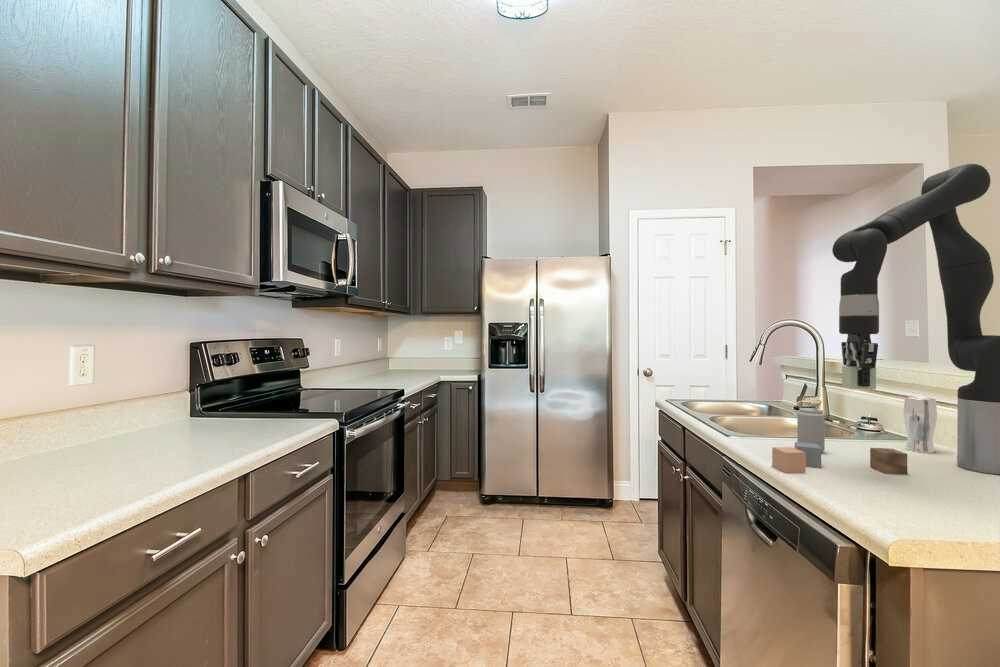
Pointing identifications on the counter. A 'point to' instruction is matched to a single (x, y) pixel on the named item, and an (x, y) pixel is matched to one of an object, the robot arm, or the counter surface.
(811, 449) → the slate cube
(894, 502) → the counter surface
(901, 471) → the walnut cube
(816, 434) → the beverage can
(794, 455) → the terracotta cube
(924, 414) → the beer glass
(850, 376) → the sage cube
